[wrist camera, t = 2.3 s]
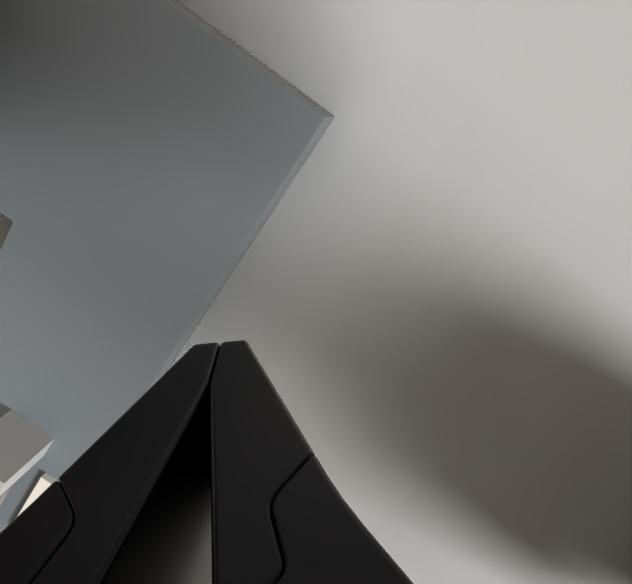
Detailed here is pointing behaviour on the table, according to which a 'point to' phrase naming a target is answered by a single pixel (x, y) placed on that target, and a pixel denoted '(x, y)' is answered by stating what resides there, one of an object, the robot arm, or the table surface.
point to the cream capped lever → (4, 495)
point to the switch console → (121, 208)
